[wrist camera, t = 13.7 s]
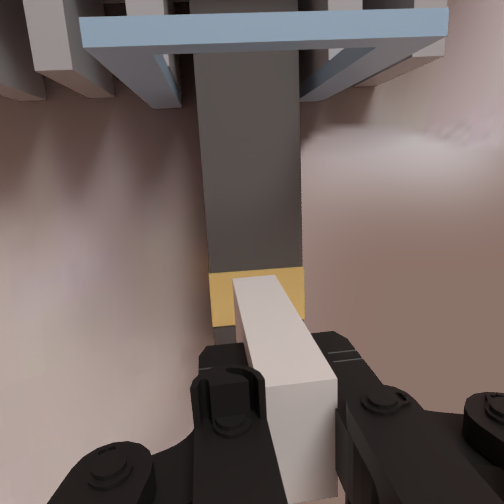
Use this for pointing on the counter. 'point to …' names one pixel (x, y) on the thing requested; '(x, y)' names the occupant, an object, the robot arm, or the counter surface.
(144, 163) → the counter surface
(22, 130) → the counter surface
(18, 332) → the counter surface
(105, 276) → the counter surface
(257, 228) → the grey banded bar
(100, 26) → the blue bezel
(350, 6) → the grey slotted rack
